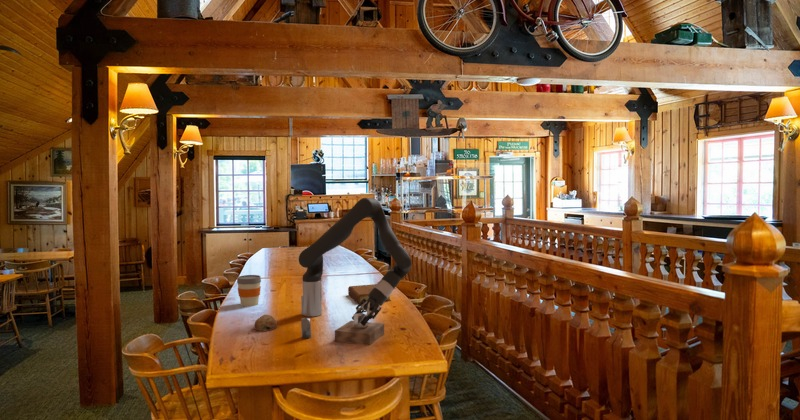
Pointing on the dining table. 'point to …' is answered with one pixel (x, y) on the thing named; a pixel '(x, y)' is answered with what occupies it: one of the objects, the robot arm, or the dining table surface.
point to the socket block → (359, 333)
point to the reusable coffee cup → (249, 289)
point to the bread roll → (265, 323)
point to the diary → (361, 292)
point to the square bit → (358, 319)
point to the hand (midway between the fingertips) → (357, 322)
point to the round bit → (306, 328)
